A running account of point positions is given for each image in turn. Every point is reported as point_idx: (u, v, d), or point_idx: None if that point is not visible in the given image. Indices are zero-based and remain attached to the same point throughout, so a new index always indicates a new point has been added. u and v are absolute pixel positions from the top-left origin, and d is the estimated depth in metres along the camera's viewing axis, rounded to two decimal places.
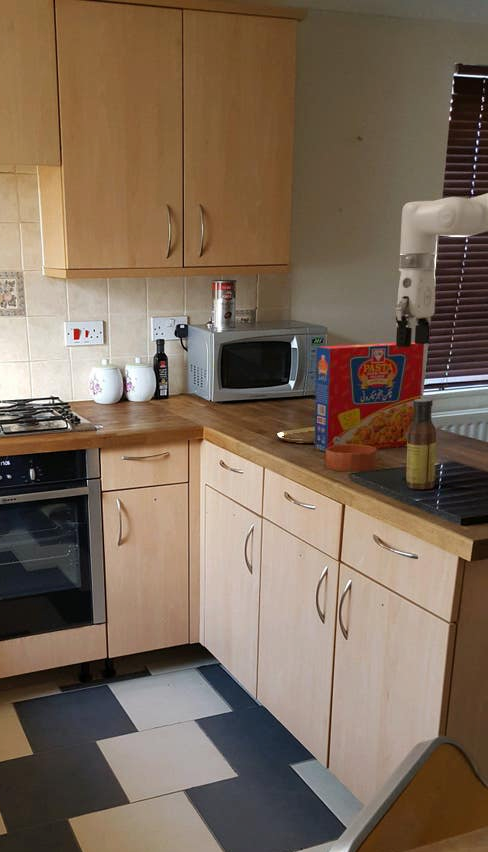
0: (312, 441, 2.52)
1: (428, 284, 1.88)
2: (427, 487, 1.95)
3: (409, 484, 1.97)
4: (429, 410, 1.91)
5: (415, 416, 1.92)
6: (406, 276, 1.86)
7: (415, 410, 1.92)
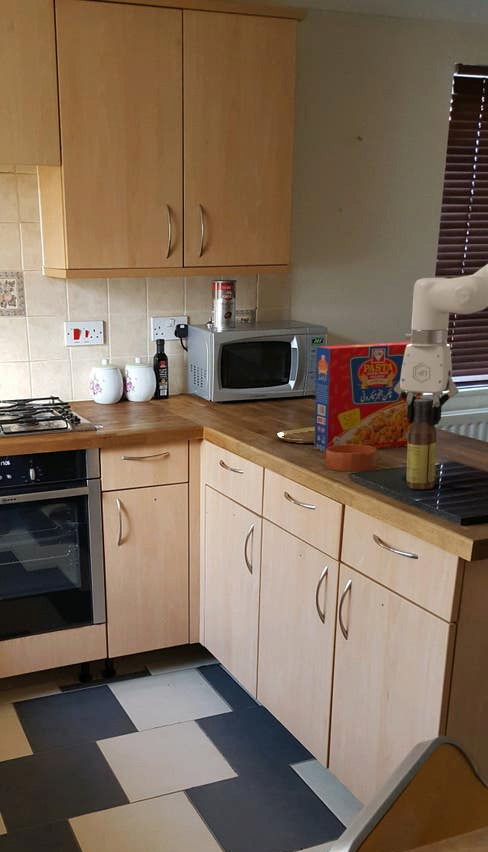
0: (312, 441, 2.52)
1: (422, 360, 1.87)
2: (427, 487, 1.95)
3: (409, 484, 1.97)
4: (430, 410, 1.91)
5: (416, 416, 1.92)
6: None
7: (416, 410, 1.92)
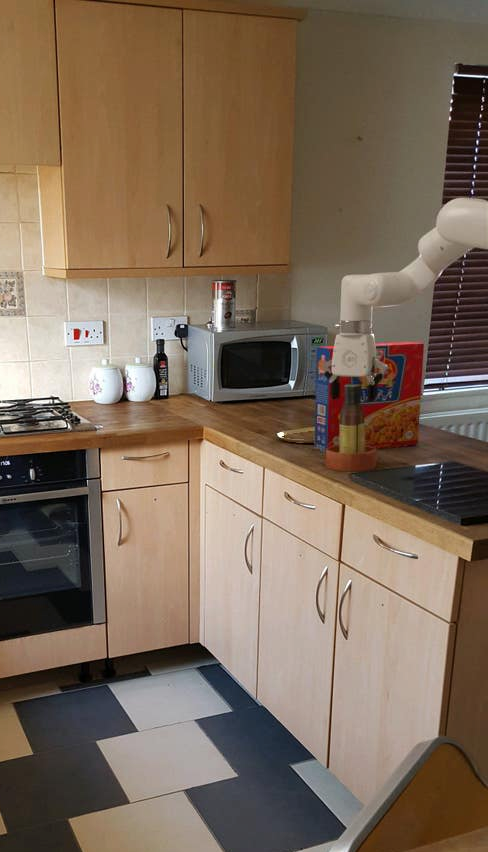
0: (312, 441, 2.52)
1: (349, 347, 2.11)
2: None
3: None
4: (357, 394, 2.15)
5: (345, 400, 2.17)
6: None
7: (345, 394, 2.16)
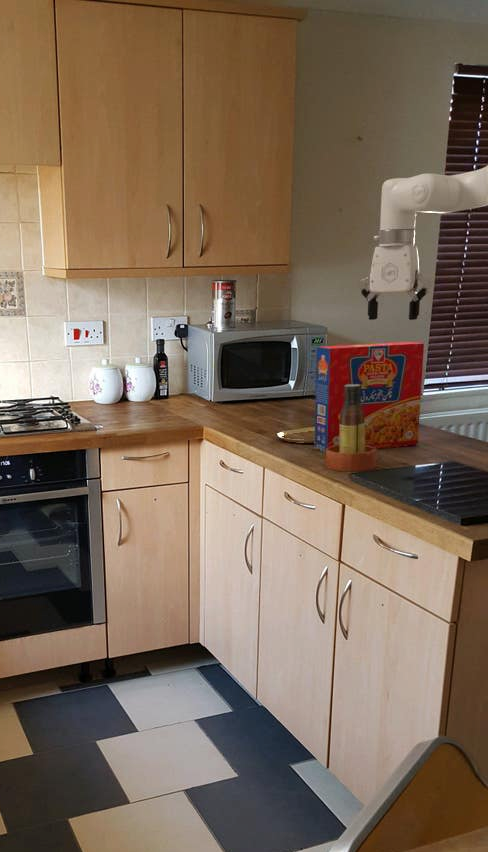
0: (312, 441, 2.52)
1: (390, 260, 1.93)
2: None
3: None
4: (357, 394, 2.15)
5: (345, 400, 2.17)
6: None
7: (345, 394, 2.16)
